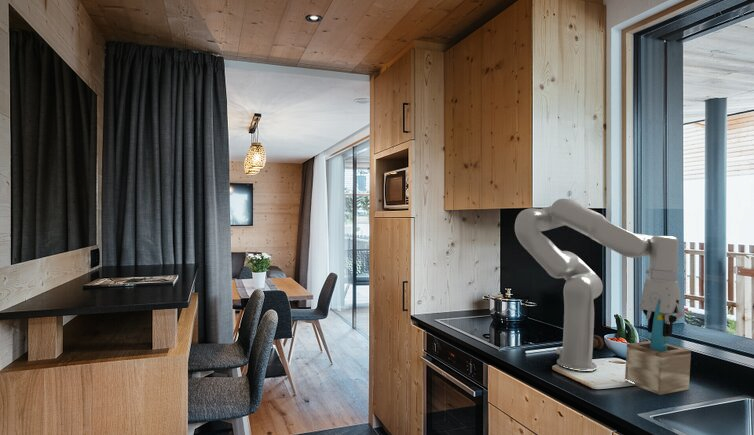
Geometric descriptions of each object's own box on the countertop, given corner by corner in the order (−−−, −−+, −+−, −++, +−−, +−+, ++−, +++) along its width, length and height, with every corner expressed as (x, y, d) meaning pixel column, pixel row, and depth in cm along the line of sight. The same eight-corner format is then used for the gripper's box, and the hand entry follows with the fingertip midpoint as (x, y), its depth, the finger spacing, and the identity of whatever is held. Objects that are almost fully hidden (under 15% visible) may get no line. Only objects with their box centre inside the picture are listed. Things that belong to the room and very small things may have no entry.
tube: (664, 364, 145) (668, 301, 145) (646, 360, 148) (650, 298, 148) (669, 359, 151) (672, 298, 150) (651, 355, 154) (654, 296, 154)
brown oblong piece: (569, 356, 183) (596, 351, 190) (579, 353, 179) (606, 347, 186) (564, 341, 186) (590, 336, 193) (573, 337, 182) (600, 333, 189)
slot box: (624, 381, 152) (626, 343, 152) (653, 376, 158) (655, 340, 158) (660, 394, 142) (662, 354, 141) (688, 389, 147) (691, 350, 147)
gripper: (629, 272, 155) (627, 328, 155) (682, 279, 140) (678, 342, 140) (645, 271, 158) (642, 326, 159) (697, 279, 143) (694, 340, 143)
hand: (659, 333), depth 149 cm, fingers closed on tube, 4 cm apart
